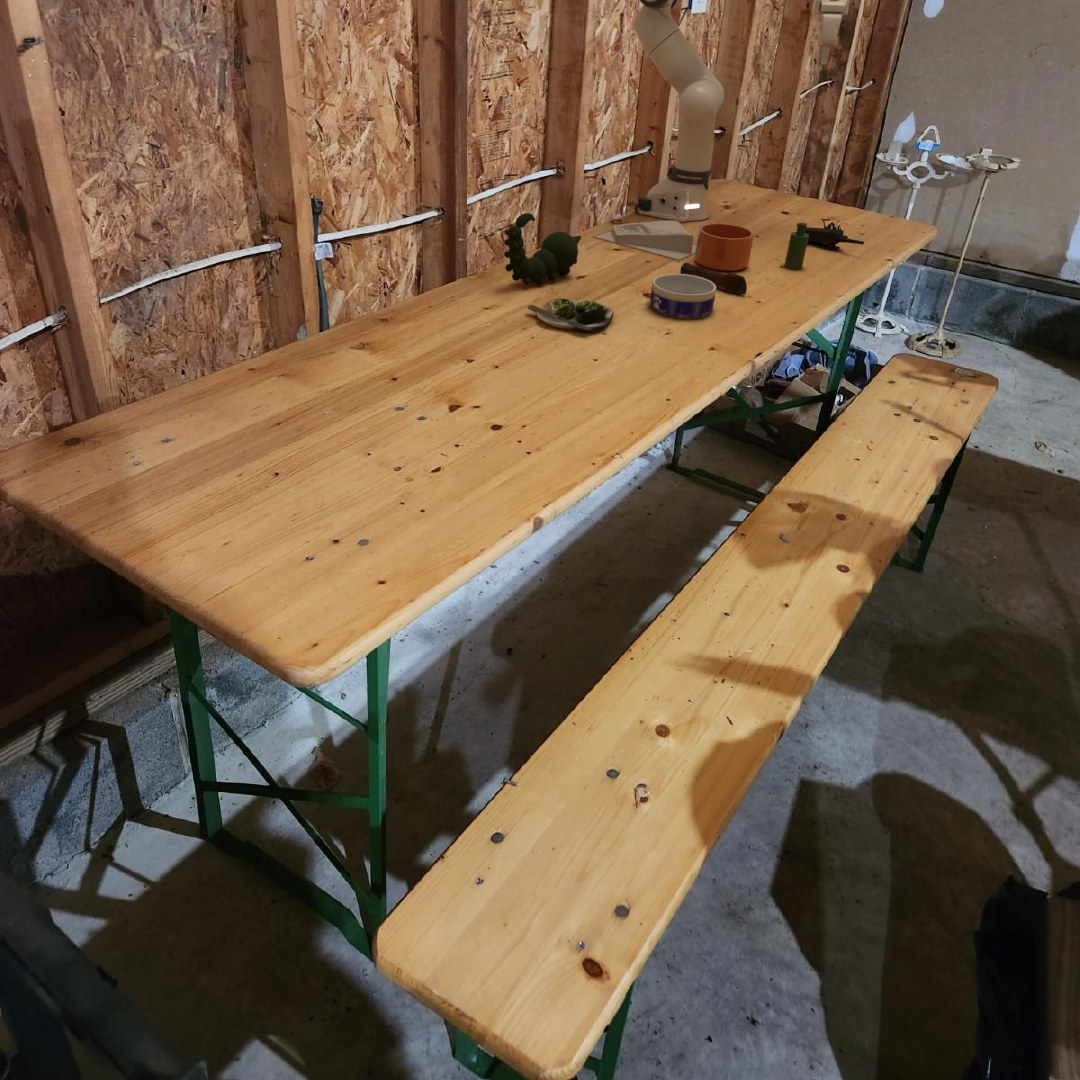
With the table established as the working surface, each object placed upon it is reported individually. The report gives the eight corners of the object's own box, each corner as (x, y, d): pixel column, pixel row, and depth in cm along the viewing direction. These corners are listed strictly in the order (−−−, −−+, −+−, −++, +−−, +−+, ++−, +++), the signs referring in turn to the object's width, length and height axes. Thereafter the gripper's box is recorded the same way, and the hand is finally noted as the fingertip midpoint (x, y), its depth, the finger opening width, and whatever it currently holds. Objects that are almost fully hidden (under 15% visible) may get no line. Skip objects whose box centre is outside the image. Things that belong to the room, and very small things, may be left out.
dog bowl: (636, 305, 224) (639, 280, 221) (676, 292, 233) (679, 268, 230) (686, 324, 215) (689, 299, 212) (725, 310, 224) (729, 286, 221)
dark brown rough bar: (677, 278, 242) (680, 261, 240) (686, 275, 245) (689, 257, 242) (739, 299, 232) (742, 280, 230) (747, 295, 235) (751, 277, 232)
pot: (690, 267, 250) (695, 234, 245) (699, 252, 262) (704, 220, 257) (744, 276, 247) (750, 242, 242) (750, 260, 259) (756, 227, 253)
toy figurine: (523, 301, 227) (593, 272, 240) (522, 224, 215) (595, 198, 229) (497, 290, 232) (567, 262, 246) (494, 214, 220) (568, 190, 234)
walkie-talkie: (808, 230, 279) (872, 239, 268) (800, 248, 279) (863, 258, 268) (803, 218, 274) (868, 227, 263) (794, 236, 274) (859, 245, 262)
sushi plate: (516, 325, 209) (517, 305, 206) (539, 300, 223) (540, 281, 220) (599, 339, 205) (601, 319, 202) (617, 312, 219) (619, 293, 216)
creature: (832, 234, 289) (814, 230, 285) (839, 217, 286) (821, 213, 282) (849, 242, 283) (830, 238, 279) (856, 224, 280) (837, 220, 277)
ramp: (595, 237, 268) (596, 218, 265) (624, 226, 279) (626, 208, 276) (678, 260, 255) (681, 240, 252) (706, 248, 266) (709, 229, 263)
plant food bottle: (783, 268, 254) (792, 224, 248) (785, 263, 258) (794, 220, 252) (801, 271, 253) (810, 227, 247) (802, 266, 257) (812, 222, 250)
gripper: (817, 9, 259) (809, 65, 265) (821, 3, 241) (812, 63, 247) (840, 10, 258) (831, 66, 264) (846, 4, 240) (837, 64, 246)
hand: (822, 64), depth 255 cm, fingers open, 8 cm apart
